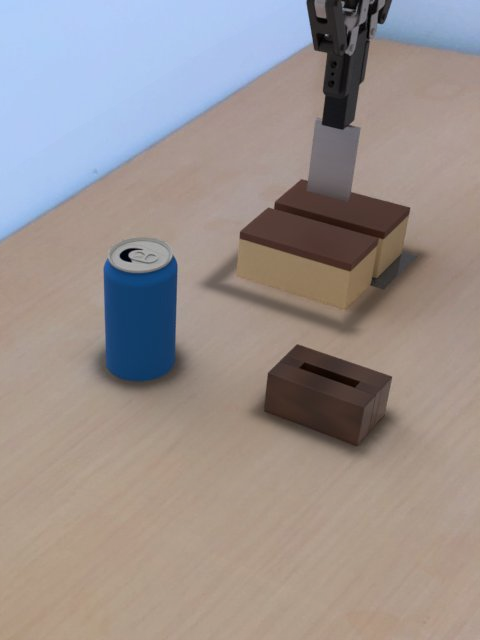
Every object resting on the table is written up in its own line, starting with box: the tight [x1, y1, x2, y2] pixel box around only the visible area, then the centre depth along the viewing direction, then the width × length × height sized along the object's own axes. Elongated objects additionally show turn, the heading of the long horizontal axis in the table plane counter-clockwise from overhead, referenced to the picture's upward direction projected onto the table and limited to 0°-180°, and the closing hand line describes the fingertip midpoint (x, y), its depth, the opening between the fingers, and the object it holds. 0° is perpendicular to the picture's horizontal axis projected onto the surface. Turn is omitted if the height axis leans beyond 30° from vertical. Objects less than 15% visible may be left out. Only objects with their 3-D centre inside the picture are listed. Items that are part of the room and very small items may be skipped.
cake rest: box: [273, 178, 411, 278], centre depth 111 cm, size 12×5×5 cm, turn 50°
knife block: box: [263, 343, 393, 447], centre depth 95 cm, size 9×5×5 cm, turn 50°
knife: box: [307, 25, 368, 202], centre depth 100 cm, size 4×2×15 cm, turn 50°
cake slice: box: [236, 207, 379, 310], centre depth 108 cm, size 12×5×5 cm, turn 50°
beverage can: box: [103, 236, 179, 382], centre depth 100 cm, size 6×6×12 cm
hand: (343, 88), depth 98 cm, fingers closed on knife, 2 cm apart
